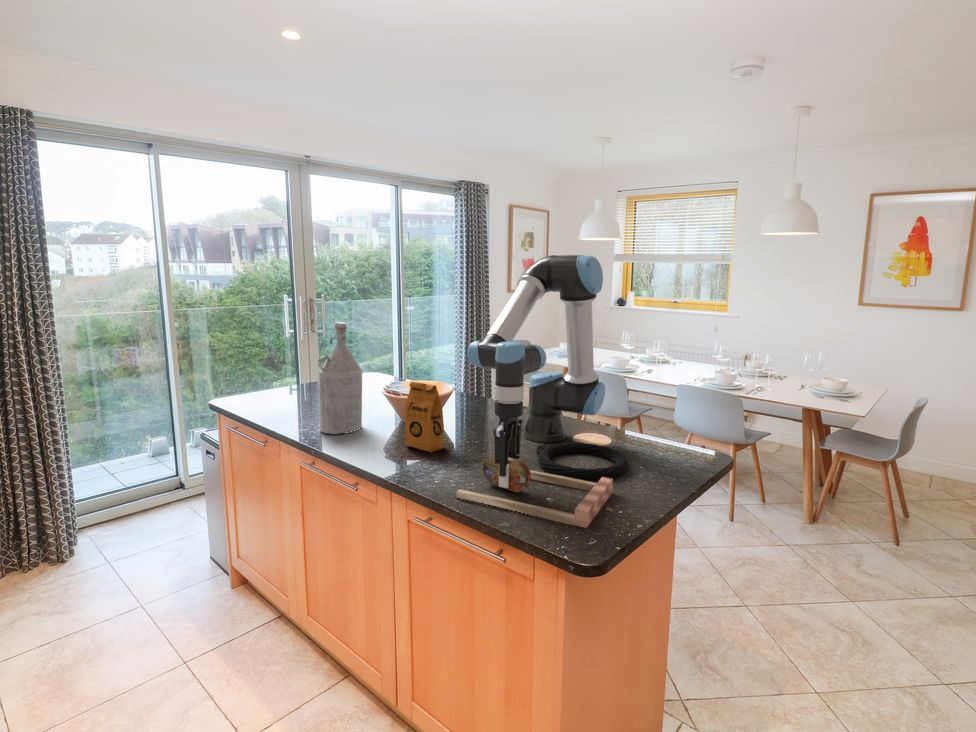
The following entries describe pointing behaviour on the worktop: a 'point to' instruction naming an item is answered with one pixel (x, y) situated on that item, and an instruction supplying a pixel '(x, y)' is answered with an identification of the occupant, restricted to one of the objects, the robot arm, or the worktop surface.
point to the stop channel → (580, 518)
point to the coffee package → (424, 418)
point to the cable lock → (579, 473)
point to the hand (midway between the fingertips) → (507, 484)
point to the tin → (517, 473)
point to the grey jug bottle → (340, 388)
